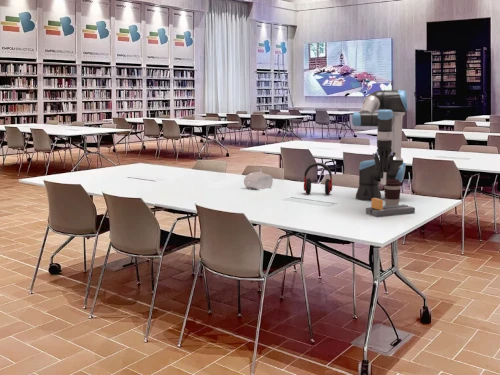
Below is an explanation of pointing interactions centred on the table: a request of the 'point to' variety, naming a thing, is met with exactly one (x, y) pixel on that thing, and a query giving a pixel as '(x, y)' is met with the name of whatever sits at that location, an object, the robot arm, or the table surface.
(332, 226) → the table surface
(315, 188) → the table surface
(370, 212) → the slider console
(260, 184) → the vr headset
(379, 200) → the fader tab
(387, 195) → the coffee cup
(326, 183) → the headphones
